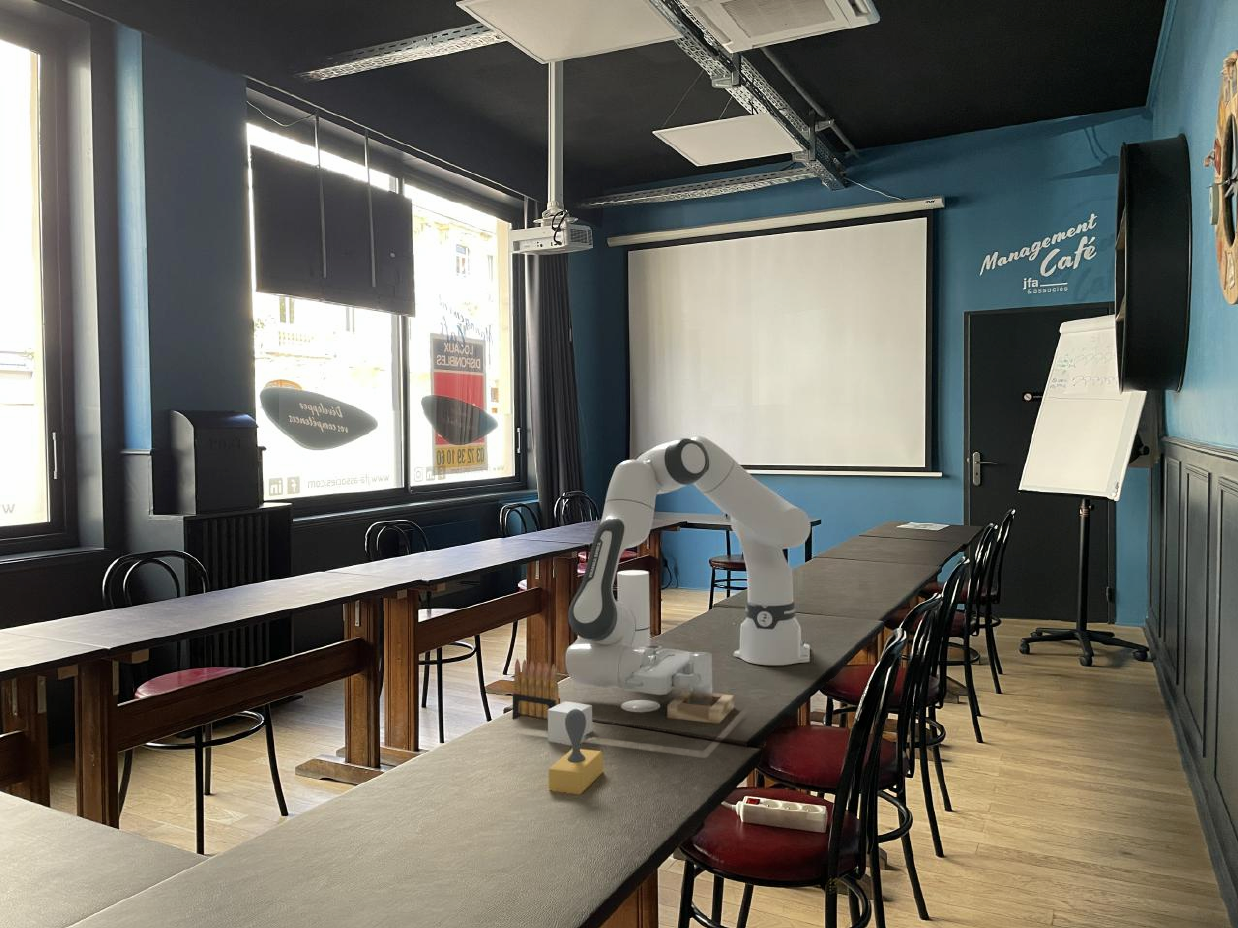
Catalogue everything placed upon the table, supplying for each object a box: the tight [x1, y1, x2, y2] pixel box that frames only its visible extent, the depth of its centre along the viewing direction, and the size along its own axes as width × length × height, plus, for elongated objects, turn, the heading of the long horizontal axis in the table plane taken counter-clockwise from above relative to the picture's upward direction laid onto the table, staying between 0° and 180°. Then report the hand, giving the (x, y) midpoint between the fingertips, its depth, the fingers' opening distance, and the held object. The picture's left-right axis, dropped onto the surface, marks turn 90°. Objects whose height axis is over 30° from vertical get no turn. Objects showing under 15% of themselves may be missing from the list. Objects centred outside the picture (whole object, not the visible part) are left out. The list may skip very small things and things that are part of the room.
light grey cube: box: [547, 700, 593, 747], centre depth 170 cm, size 6×6×6 cm
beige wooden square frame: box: [666, 690, 735, 724], centre depth 180 cm, size 10×10×4 cm
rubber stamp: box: [547, 709, 604, 796], centre depth 149 cm, size 10×6×12 cm, turn 160°
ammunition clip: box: [512, 658, 561, 721], centre depth 180 cm, size 11×2×12 cm, turn 60°
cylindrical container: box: [616, 569, 651, 647], centre depth 206 cm, size 7×7×25 cm
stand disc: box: [620, 699, 661, 713], centre depth 186 cm, size 8×8×1 cm
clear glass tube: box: [689, 651, 713, 706], centre depth 180 cm, size 4×4×12 cm
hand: (705, 675), depth 180 cm, fingers open, 5 cm apart
